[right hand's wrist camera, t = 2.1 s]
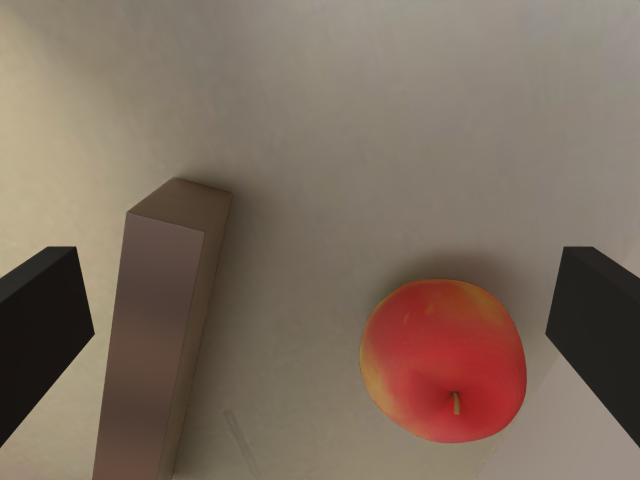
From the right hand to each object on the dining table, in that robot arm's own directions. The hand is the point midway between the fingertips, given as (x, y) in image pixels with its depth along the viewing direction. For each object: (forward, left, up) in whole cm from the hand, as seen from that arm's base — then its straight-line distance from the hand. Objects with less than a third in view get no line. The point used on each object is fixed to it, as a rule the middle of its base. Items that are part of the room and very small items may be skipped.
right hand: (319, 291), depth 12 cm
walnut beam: (-7, -17, -18) cm, 25 cm away
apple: (+10, -9, -18) cm, 22 cm away
